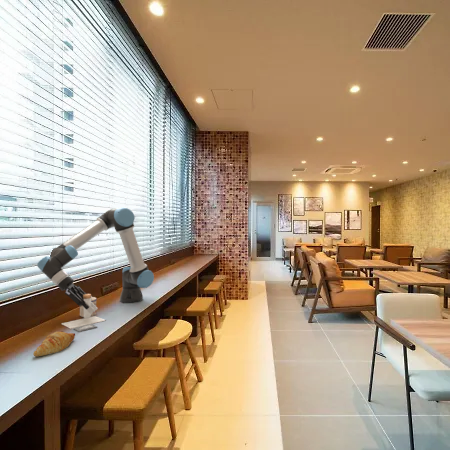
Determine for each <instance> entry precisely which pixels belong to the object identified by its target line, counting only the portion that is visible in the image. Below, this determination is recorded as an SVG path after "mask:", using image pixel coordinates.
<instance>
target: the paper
mask: <svg viewBox="0 0 450 450" xmlns="http://www.w3.org/2000/svg"><path fill="white" fill-rule="evenodd" d="M106 321H107V319H103V318H101V317H98V316H96V315H94V316H91V317H90V318H84V317H83V318H80V319H76V320H70V321H68V322H62V323H61V325H62V326H64V327H66V328H67V329H68V328H69V329H70V330H72V329H73V330H74V328H77V327H81V326H85V325H90V324H93V325H95V324H96V323H97V324H98V323H101V322H106Z"/></svg>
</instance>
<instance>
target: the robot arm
mask: <svg viewBox="0 0 450 450" xmlns="http://www.w3.org/2000/svg"><path fill="white" fill-rule="evenodd" d="M135 218H136V217H135V214H134V212H133V211H132V210H131V209H130V208H128V207H117V208H110V209H109V210H107V211H105V212H104V213H103V214H101V215H100V216H98V217H97V218H96V220H95V221H94V222H92V223H91V224H89V225H88V226H86V227H84V228H83V229H82V230H81V231H79V232H78V233H76V234H74V235H73V236H72V237H70V238H69V239H67V240H66V241H64V242H63V243H61V244H59V245H58V246H57V247H53V248H52V249H53V250H52V252H51V255H50V257H49V255H47V256H44V257H42V258H41V259H40V260H39V261H38V262H37V266H36V267H38V269H39V271H41V272H42V273H43V274H44V275H45V276H46V277H47V278H48V279H49V280H50V281H51V282H52V283H53V284H55V286H57V287H58V288H59V289H60V290H61V291H65V292H64V294H65V295H66V296H67V297H69V298H70V299H71V300H72V301H73V302H74V303H75V304H76V305H77V306H79V308H80V307H81V306H83V307H84V308H85V309H86V310H87V311H88V312H89V313H90V314H92V313H93V312H95V311H96V312H97V310H98V309H99V308H98V307H97V305H96V306H95V305H94V304H93V303H92V302H91V306H90V305H89V304H88V303H87V302H85V301H84V298H83V295H84V294H87V293H86V292H85V291H84V290H83V289H82V288H81V287H80V285H75V284H74V282H75V281H74V278H72V277H71V276H69V273H67V272H66V271H65V270H64V269H63V268H64V267H65V266H66V265H67V264H69V263H70V262H71V261H72V260H74V259H75V258H77V257H78V256H79V253H78V252H79V251H78V249H79V248H81V247H83V246H84V245H85V244H86V243H88V242H90V241H91V240H92V239H93V238H95V237H96V236H98V235H99V234H101V233H103V231H107V230H109V229H111V228H114V230H115V232H116V233H118V234H119V236H120V239H121V243H122V245H123V248H124V250H125V251H124V252H125V254H126V258H127V260H128V263H129V266H128V267H127V266H126V267H123V268H122V273H121V274H122V275H121V276H122V290H121V292H120V295H119V296H120V297H119V301H120V302H121V303H127V304H128V303H130V304H131V303H138V302H141V301H143V300H144V296H143V292H142V290H141V289H147V288H149V287H151V285H152V284H153V283H154V280H155V275H154V272H153V271H152V270H149V266H148V264H146V263H145V261H144V259H143V255H142V252H141V250H140V247H139V243H138V241H137V238H136V235H135V231H134V227H135V224H134V222H135V220H136V219H135Z"/></svg>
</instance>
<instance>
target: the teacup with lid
mask: <svg viewBox="0 0 450 450" xmlns="http://www.w3.org/2000/svg"><path fill="white" fill-rule="evenodd" d="M97 301H98V300H97V297H95V296H92V295H91V302H92V303H93V304H94V305H95V306H96V307H97ZM96 315H97V310H96V311H95V312H93V313H92V314H91V317H93V316H96ZM79 316H80V318H81V317H82V318H84V307H83V306H81V307H80V306H79Z"/></svg>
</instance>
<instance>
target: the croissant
mask: <svg viewBox="0 0 450 450" xmlns="http://www.w3.org/2000/svg"><path fill="white" fill-rule="evenodd" d="M75 338H76V333H74V332H65V331H54V332H51V333H50V334H48V335H47V336H46V337H45V339H44V340H43V341H42V342H41V344H40V345H38V346H37V347H36V349H35V350H34V351H33V357H38V358H39V357H42V356H47V355H53V354H55V353H59V352H62V351H63V350H65V349H66V348H67V347H69V346H70V345H71V343H72V342H74V340H75Z"/></svg>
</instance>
